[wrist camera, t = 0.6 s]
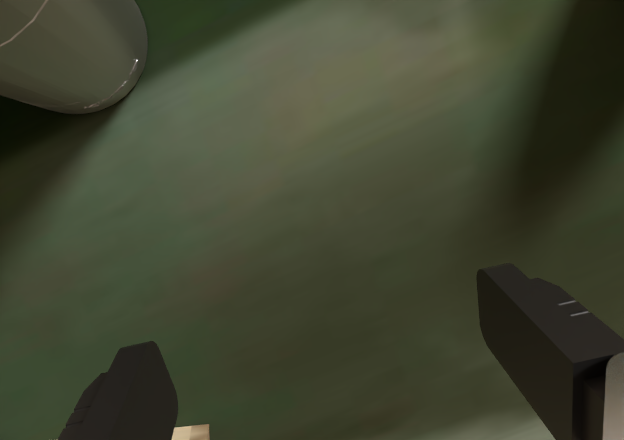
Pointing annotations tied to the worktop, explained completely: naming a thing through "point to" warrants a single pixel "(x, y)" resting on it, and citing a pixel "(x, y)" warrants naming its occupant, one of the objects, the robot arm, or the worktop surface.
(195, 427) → the hutch
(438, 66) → the worktop surface
